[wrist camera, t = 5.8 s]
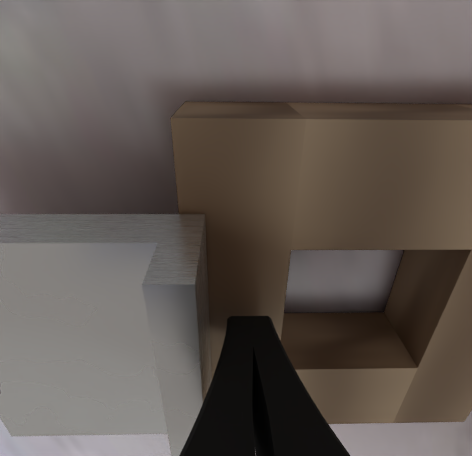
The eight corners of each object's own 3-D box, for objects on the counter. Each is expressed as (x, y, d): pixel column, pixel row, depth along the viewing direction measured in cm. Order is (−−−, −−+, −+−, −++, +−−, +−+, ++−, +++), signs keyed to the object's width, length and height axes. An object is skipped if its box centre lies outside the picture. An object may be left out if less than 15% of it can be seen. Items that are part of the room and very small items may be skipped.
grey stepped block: (205, 213, 9) (194, 284, 6) (212, 392, 12) (208, 483, 10) (-56, 213, 8) (-185, 286, 6) (34, 395, 12) (-18, 488, 10)
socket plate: (548, 105, 10) (658, 122, 8) (426, 363, 17) (464, 421, 14) (185, 101, 10) (170, 118, 7) (202, 366, 16) (197, 426, 14)
